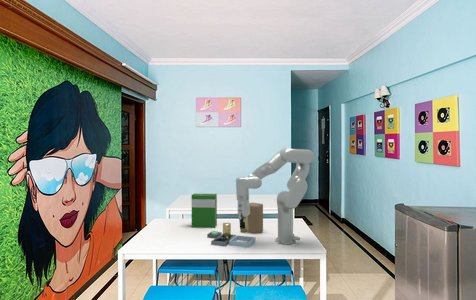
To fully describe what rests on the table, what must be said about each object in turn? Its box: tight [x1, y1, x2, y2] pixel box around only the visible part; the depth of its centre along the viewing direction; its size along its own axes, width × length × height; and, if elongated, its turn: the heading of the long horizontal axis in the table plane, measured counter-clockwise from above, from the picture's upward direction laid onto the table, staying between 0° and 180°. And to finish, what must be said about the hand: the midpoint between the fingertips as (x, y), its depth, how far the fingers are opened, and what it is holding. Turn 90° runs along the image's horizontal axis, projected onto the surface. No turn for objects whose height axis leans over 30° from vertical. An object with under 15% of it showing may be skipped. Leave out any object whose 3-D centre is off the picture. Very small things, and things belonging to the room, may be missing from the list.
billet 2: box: [239, 216, 249, 234], centre depth 189 cm, size 5×5×10 cm
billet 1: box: [222, 222, 232, 238], centre depth 196 cm, size 5×5×10 cm
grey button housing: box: [206, 231, 223, 239], centre depth 203 cm, size 7×7×3 cm
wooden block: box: [247, 202, 264, 235], centre depth 215 cm, size 10×10×20 cm
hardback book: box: [191, 193, 218, 229], centre depth 232 cm, size 18×7×24 cm, turn 85°
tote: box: [228, 234, 257, 248], centre depth 189 cm, size 13×13×4 cm
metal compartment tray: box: [210, 233, 237, 247], centre depth 193 cm, size 18×10×3 cm, turn 159°
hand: (244, 226), depth 189 cm, fingers closed on billet 2, 5 cm apart
